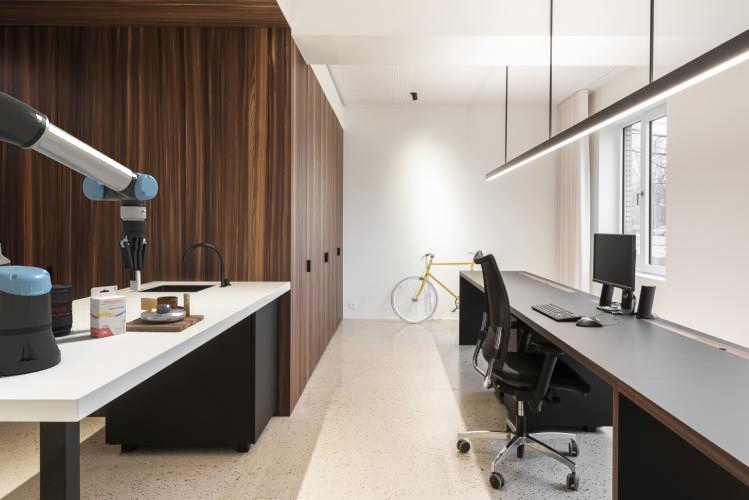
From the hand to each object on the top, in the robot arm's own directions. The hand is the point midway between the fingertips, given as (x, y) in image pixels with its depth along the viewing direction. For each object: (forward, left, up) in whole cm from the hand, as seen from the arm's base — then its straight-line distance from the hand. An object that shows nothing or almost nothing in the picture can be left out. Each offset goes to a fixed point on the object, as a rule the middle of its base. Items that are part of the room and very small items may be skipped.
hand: (135, 289), depth 153 cm
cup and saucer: (+22, -1, -12) cm, 25 cm away
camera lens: (-15, +16, -12) cm, 25 cm away
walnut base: (+1, -9, -12) cm, 15 cm away
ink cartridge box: (-14, +1, -12) cm, 18 cm away
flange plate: (+2, -7, -10) cm, 12 cm away
